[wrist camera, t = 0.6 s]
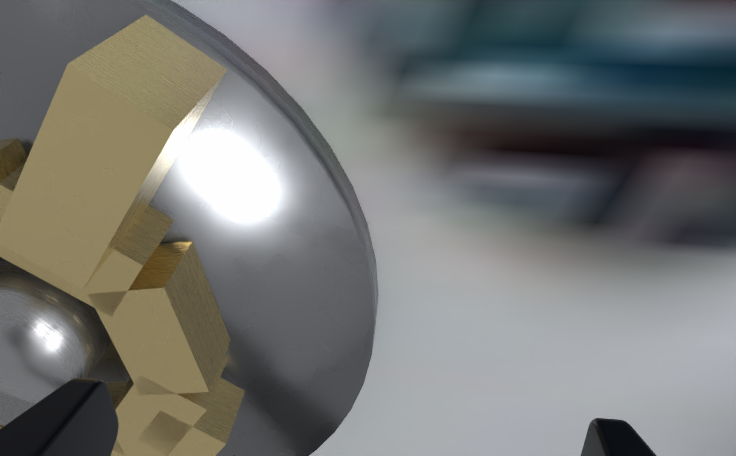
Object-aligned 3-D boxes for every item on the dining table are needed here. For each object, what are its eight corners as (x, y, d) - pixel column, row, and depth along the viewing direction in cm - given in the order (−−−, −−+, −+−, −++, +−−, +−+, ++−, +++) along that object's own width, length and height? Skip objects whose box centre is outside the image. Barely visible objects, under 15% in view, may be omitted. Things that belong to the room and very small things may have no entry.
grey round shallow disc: (376, 492, 29) (364, 605, 24) (-92, 449, 31) (-177, 548, 26) (382, -70, 16) (360, -34, 12) (-414, -80, 18) (-673, -53, 14)
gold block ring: (153, 493, 27) (112, 586, 24) (-201, 326, 24) (-306, 407, 20) (417, 197, 18) (410, 281, 15) (-98, -151, 15) (-262, -145, 11)
